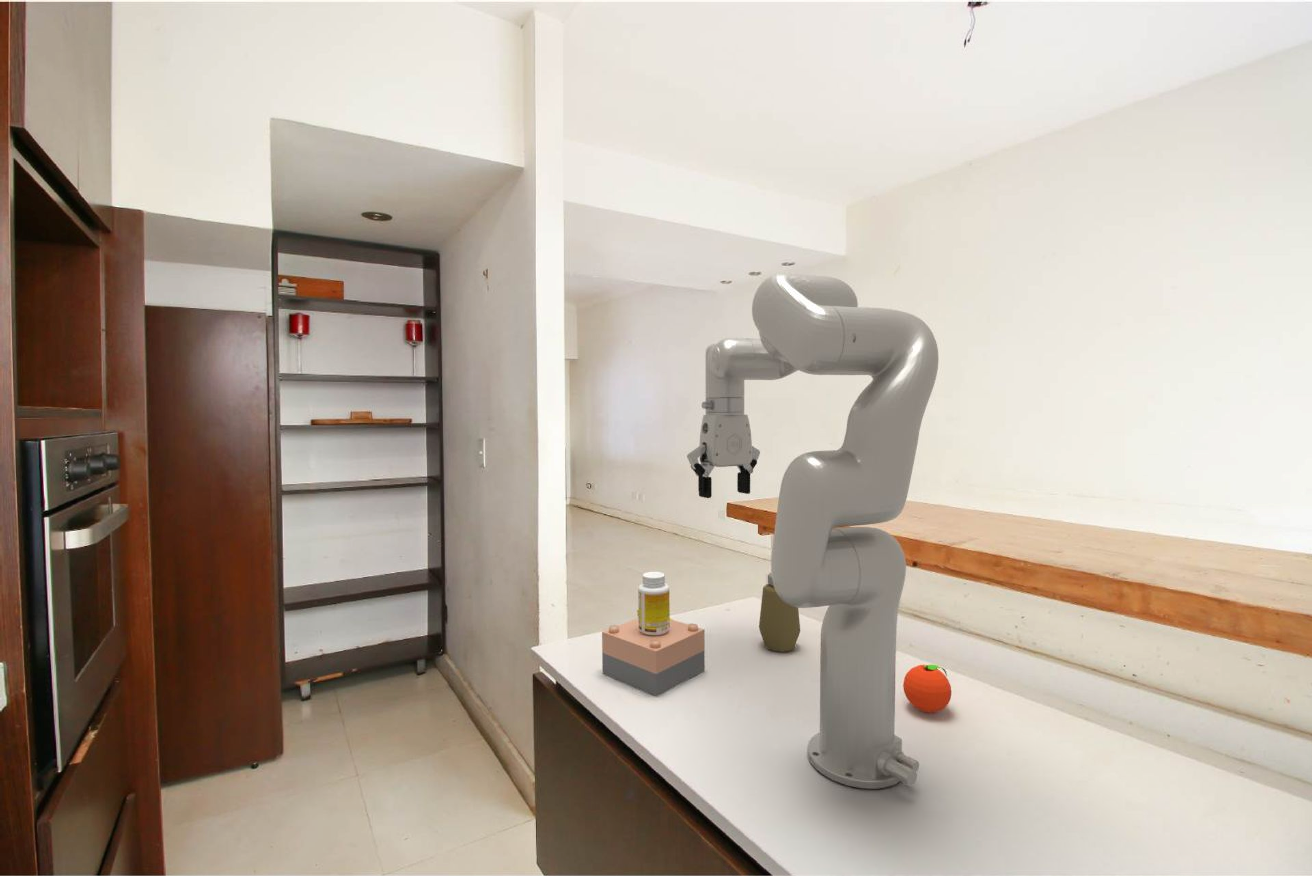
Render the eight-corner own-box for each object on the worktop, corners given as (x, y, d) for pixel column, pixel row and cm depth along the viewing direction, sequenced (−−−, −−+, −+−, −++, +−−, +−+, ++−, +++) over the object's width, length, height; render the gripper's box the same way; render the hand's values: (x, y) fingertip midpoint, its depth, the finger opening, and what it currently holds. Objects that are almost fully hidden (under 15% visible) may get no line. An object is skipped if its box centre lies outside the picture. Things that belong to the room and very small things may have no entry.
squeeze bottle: (750, 643, 122) (750, 555, 121) (782, 636, 126) (782, 550, 125) (776, 658, 115) (776, 564, 114) (809, 649, 119) (809, 559, 118)
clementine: (927, 694, 101) (928, 652, 100) (965, 713, 94) (966, 668, 94) (893, 705, 97) (893, 661, 97) (930, 725, 91) (930, 679, 90)
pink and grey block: (704, 670, 110) (704, 625, 109) (656, 696, 100) (656, 646, 100) (651, 651, 119) (651, 609, 118) (602, 673, 109) (602, 627, 108)
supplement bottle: (676, 631, 108) (675, 575, 108) (651, 639, 105) (651, 580, 104) (656, 622, 113) (655, 568, 112) (632, 630, 109) (631, 574, 109)
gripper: (700, 407, 110) (701, 501, 111) (771, 407, 120) (770, 493, 121) (677, 407, 117) (677, 496, 118) (745, 407, 126) (745, 489, 127)
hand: (724, 495), depth 119 cm, fingers open, 9 cm apart
